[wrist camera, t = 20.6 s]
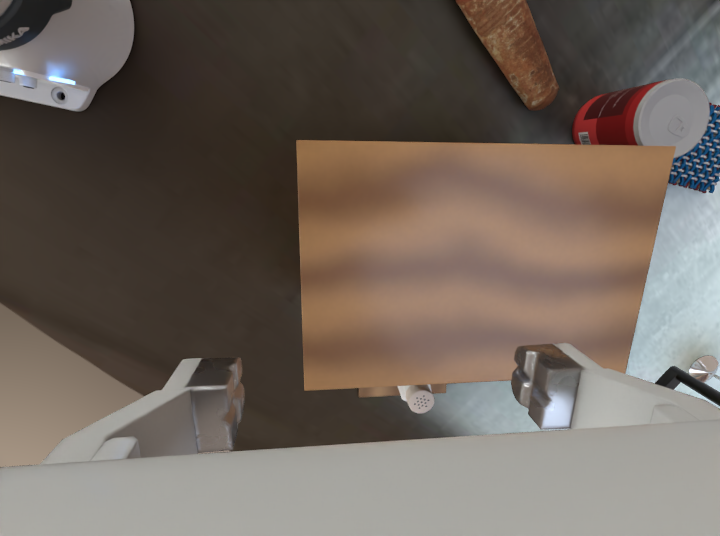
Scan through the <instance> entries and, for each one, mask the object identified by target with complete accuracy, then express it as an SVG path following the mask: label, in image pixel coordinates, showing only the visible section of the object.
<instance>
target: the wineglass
mask: <svg viewBox="0 0 720 536" xmlns="http://www.w3.org/2000/svg"><path fill="white" fill-rule="evenodd" d="M717 370H718V361H717V360H716V358H714V357H713V356H703V357H701V358H699V359H698V360H696V361H695V362H694V363H693V364H692V366H691V368H690V371H689V375H691V376H693V377H695V378H696V379H698V380H700V381H701V382H703V383H704V382H706V381H708V380H710V379H711V378H712V377H715V378H717V379H718V380H720V376H718V375H716V372H717Z"/></svg>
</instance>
